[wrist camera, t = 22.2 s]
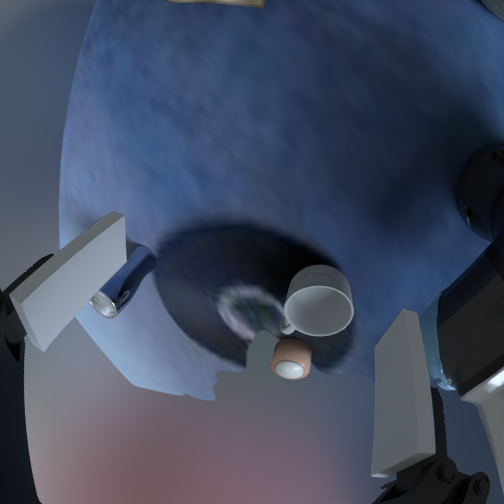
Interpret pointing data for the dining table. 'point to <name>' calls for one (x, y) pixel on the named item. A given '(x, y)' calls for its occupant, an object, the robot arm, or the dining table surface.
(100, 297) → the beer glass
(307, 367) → the tealight holder
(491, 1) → the planter
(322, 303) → the teacup
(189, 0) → the oak board
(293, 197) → the dining table surface
